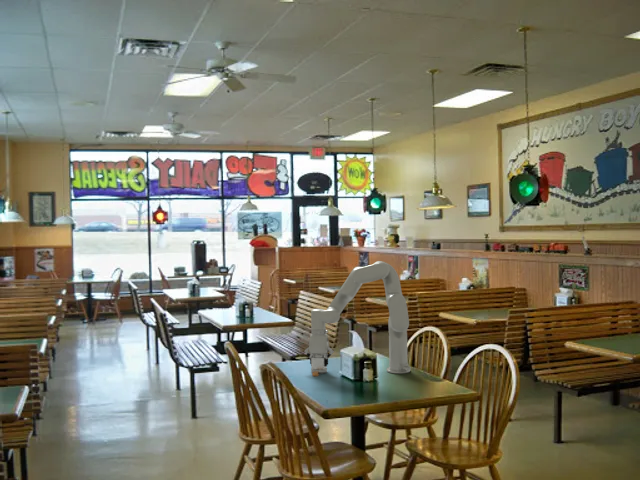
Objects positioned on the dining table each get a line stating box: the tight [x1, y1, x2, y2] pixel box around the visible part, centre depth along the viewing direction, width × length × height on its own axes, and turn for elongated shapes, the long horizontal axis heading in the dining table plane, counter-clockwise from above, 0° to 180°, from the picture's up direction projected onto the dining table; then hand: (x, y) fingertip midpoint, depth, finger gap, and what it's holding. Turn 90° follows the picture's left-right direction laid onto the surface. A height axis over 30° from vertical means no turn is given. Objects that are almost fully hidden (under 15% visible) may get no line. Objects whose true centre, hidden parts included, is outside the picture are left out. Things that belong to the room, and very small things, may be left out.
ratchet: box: [310, 367, 328, 377], centre depth 330 cm, size 13×8×6 cm, turn 166°
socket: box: [310, 354, 328, 370], centre depth 332 cm, size 7×7×7 cm
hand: (319, 365), depth 332 cm, fingers closed on socket, 6 cm apart
